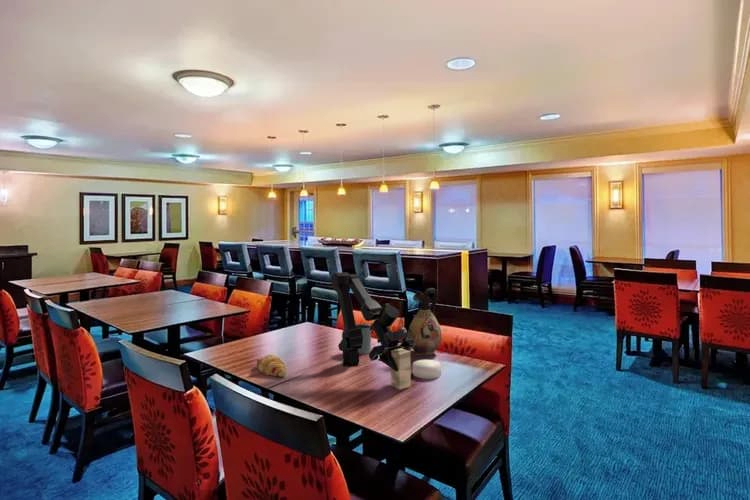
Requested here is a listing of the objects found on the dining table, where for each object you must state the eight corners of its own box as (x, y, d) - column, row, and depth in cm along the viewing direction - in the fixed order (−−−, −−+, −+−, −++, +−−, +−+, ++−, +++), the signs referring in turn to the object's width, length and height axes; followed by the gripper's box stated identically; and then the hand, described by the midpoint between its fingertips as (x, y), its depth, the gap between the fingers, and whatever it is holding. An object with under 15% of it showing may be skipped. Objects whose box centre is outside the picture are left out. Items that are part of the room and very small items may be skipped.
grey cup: (371, 354, 196) (370, 328, 195) (349, 355, 196) (348, 329, 195) (371, 348, 206) (371, 323, 205) (350, 348, 206) (350, 323, 205)
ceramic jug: (418, 359, 187) (417, 291, 186) (402, 350, 202) (401, 287, 200) (451, 354, 194) (451, 288, 192) (433, 346, 208) (433, 284, 207)
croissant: (291, 385, 169) (299, 365, 172) (271, 379, 163) (279, 358, 165) (263, 371, 185) (271, 353, 187) (244, 365, 178) (252, 346, 180)
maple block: (391, 385, 158) (391, 350, 157) (401, 382, 161) (401, 348, 160) (400, 389, 154) (399, 353, 153) (410, 386, 157) (410, 351, 156)
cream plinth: (415, 379, 164) (415, 369, 164) (411, 369, 175) (411, 360, 175) (444, 378, 165) (444, 368, 164) (438, 368, 176) (437, 359, 175)
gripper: (373, 324, 154) (393, 363, 145) (412, 317, 165) (432, 352, 157) (360, 342, 160) (379, 379, 152) (399, 333, 171) (418, 368, 163)
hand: (403, 369), depth 156 cm, fingers closed on maple block, 5 cm apart
